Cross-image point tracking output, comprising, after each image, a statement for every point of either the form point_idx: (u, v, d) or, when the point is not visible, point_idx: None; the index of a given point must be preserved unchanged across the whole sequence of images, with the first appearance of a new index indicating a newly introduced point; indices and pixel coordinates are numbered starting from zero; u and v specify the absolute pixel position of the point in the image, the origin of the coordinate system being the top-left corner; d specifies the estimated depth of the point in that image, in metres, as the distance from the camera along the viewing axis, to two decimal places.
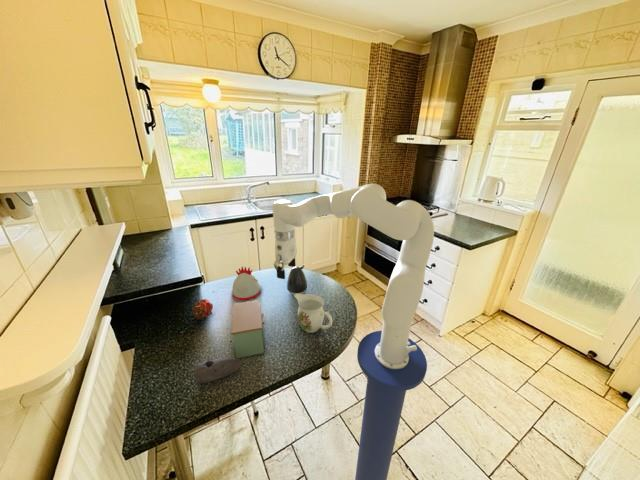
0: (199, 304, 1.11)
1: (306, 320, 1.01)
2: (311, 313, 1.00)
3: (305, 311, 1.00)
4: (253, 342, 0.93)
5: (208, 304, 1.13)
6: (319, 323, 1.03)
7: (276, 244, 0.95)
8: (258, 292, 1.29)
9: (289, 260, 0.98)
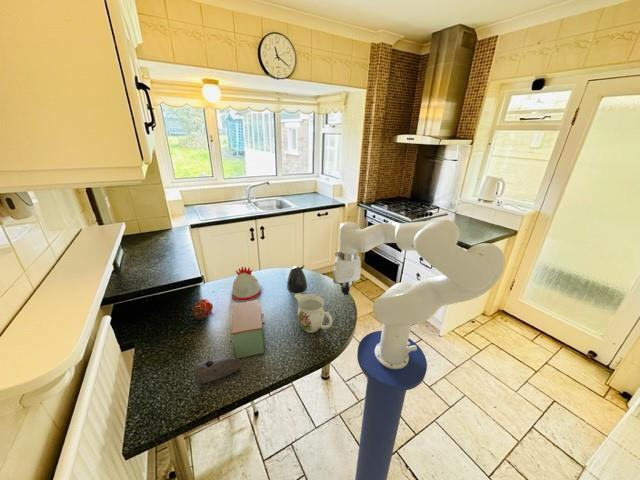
0: (199, 304, 1.11)
1: (306, 320, 1.01)
2: (311, 313, 1.00)
3: (305, 311, 1.00)
4: (253, 342, 0.93)
5: (208, 304, 1.13)
6: (319, 323, 1.03)
7: (335, 260, 0.99)
8: (258, 292, 1.29)
9: (342, 280, 0.99)
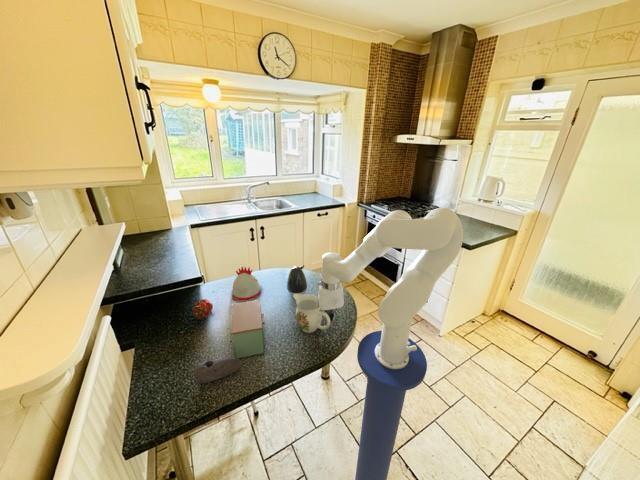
0: (199, 304, 1.11)
1: (304, 320, 1.01)
2: (309, 313, 1.00)
3: (303, 311, 1.00)
4: (253, 342, 0.93)
5: (208, 304, 1.13)
6: (317, 323, 1.03)
7: (319, 288, 1.03)
8: (258, 292, 1.29)
9: (326, 308, 1.03)
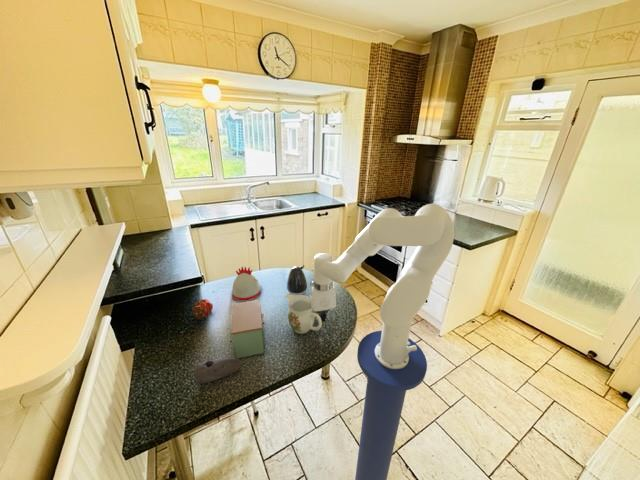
0: (199, 304, 1.11)
1: (295, 321, 1.01)
2: (300, 314, 0.99)
3: (295, 312, 0.99)
4: (253, 342, 0.93)
5: (208, 304, 1.13)
6: (309, 324, 1.02)
7: (311, 289, 1.02)
8: (258, 292, 1.29)
9: (318, 309, 1.02)
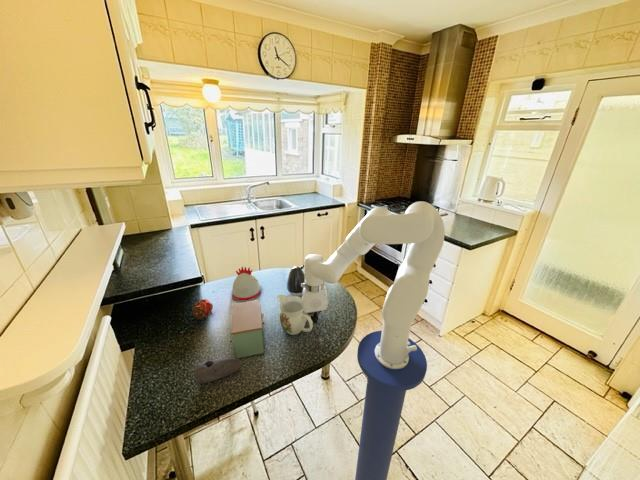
0: (199, 304, 1.11)
1: (286, 322, 1.00)
2: (291, 316, 0.99)
3: (285, 313, 0.99)
4: (253, 342, 0.93)
5: (208, 304, 1.13)
6: (300, 326, 1.01)
7: None
8: (258, 292, 1.29)
9: (309, 310, 1.01)
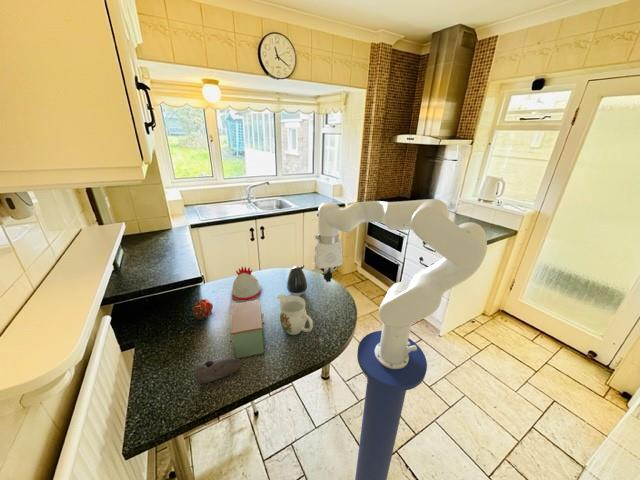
0: (199, 304, 1.11)
1: (286, 322, 1.00)
2: (291, 315, 0.99)
3: (285, 313, 0.99)
4: (253, 342, 0.93)
5: (208, 304, 1.13)
6: (300, 326, 1.02)
7: None
8: (258, 292, 1.29)
9: (323, 265, 0.94)
